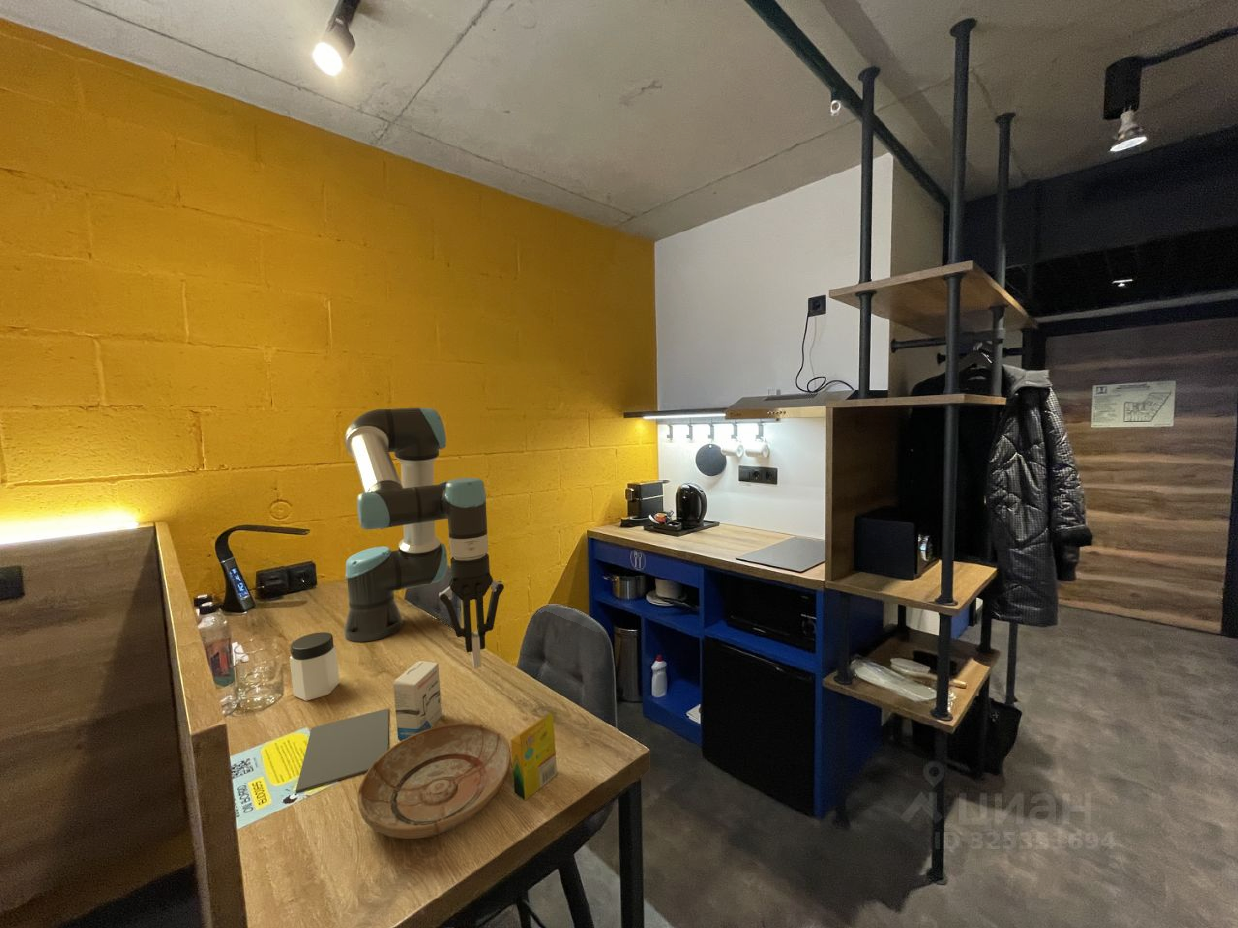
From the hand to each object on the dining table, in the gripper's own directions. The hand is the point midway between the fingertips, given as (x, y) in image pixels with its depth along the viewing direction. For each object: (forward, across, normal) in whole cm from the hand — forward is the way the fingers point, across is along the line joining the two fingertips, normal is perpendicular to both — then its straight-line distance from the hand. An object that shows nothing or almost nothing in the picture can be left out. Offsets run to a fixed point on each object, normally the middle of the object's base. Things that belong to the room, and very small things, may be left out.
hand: (476, 664), depth 102 cm
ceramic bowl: (+11, -10, -20) cm, 25 cm away
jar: (+11, -32, +25) cm, 42 cm away
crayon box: (+11, +5, -25) cm, 28 cm away
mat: (+10, -24, 0) cm, 27 cm away
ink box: (+11, -12, 0) cm, 16 cm away
